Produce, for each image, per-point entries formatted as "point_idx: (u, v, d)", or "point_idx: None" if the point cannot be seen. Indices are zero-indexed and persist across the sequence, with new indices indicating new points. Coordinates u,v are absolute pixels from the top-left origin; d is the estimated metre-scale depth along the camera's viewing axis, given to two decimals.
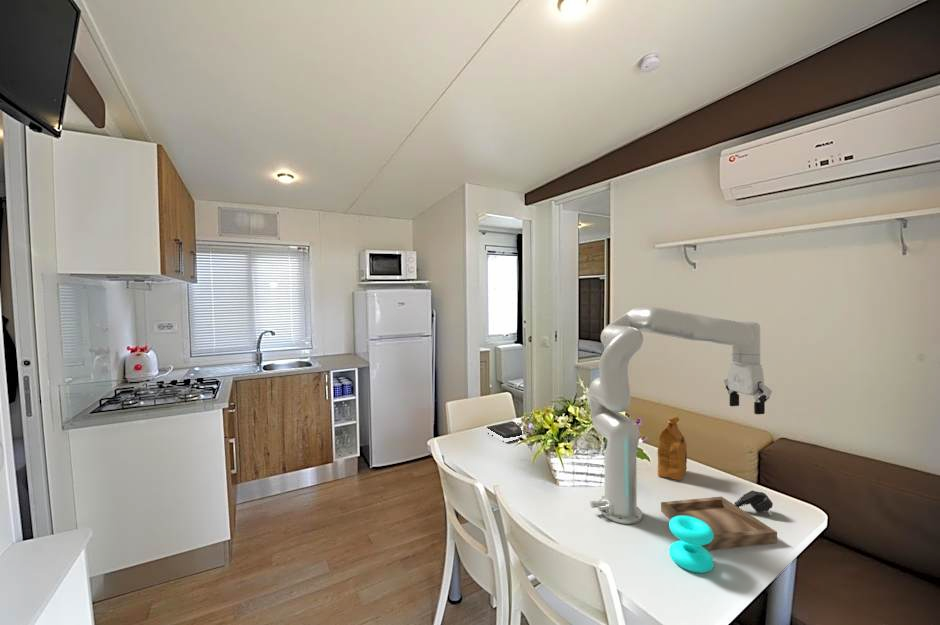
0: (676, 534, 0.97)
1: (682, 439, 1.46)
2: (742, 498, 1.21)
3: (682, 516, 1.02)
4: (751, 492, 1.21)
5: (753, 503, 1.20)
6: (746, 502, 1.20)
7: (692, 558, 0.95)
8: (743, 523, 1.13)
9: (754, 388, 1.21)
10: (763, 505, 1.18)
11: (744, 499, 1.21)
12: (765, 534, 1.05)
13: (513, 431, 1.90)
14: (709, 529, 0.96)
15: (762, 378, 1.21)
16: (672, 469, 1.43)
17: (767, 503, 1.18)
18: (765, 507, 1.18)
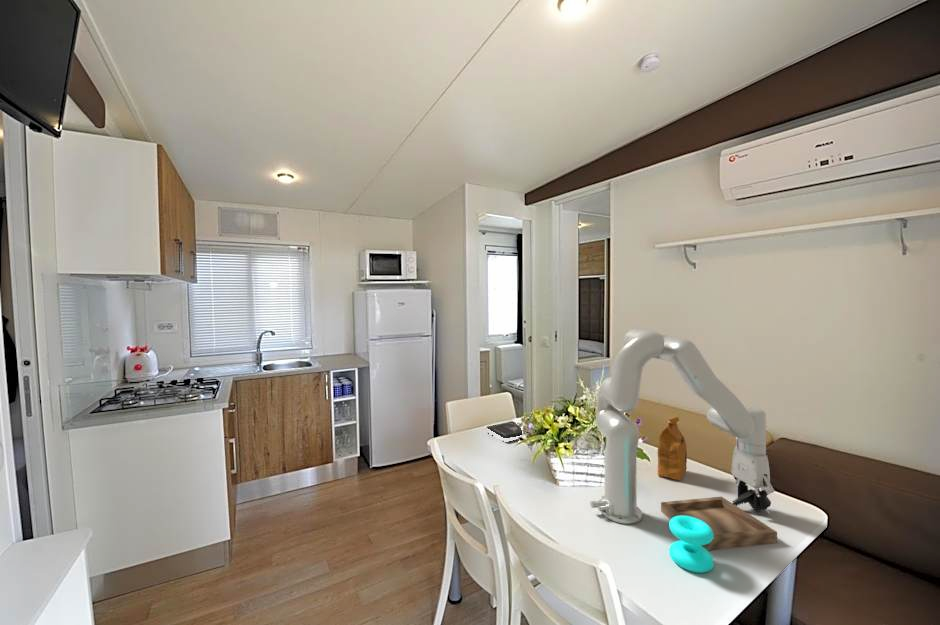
0: (676, 534, 0.97)
1: (682, 439, 1.46)
2: (740, 497, 1.22)
3: (682, 516, 1.02)
4: (749, 491, 1.22)
5: (751, 502, 1.20)
6: (744, 501, 1.21)
7: (692, 558, 0.95)
8: (743, 523, 1.13)
9: (759, 481, 1.15)
10: None
11: (742, 498, 1.21)
12: (765, 534, 1.05)
13: (513, 431, 1.90)
14: (709, 529, 0.96)
15: (768, 470, 1.16)
16: (672, 469, 1.43)
17: (765, 501, 1.18)
18: None
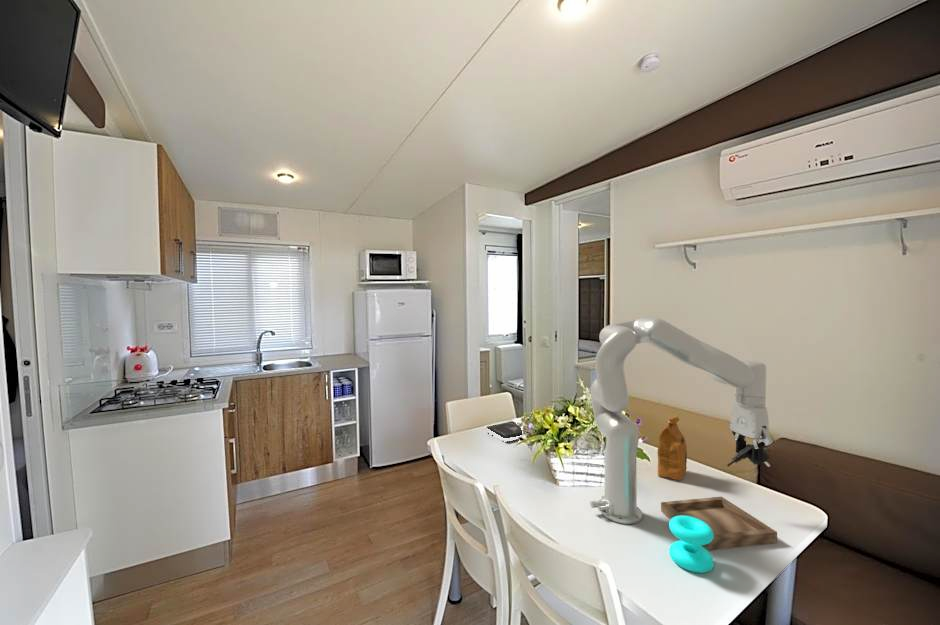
0: (676, 534, 0.97)
1: (682, 439, 1.46)
2: (739, 453, 1.22)
3: (682, 516, 1.02)
4: (747, 446, 1.21)
5: (750, 456, 1.20)
6: (743, 456, 1.20)
7: (692, 558, 0.95)
8: (743, 523, 1.13)
9: (758, 433, 1.15)
10: None
11: (741, 454, 1.21)
12: (765, 534, 1.05)
13: (513, 431, 1.90)
14: (709, 529, 0.96)
15: (767, 422, 1.15)
16: (672, 469, 1.43)
17: (763, 454, 1.18)
18: None
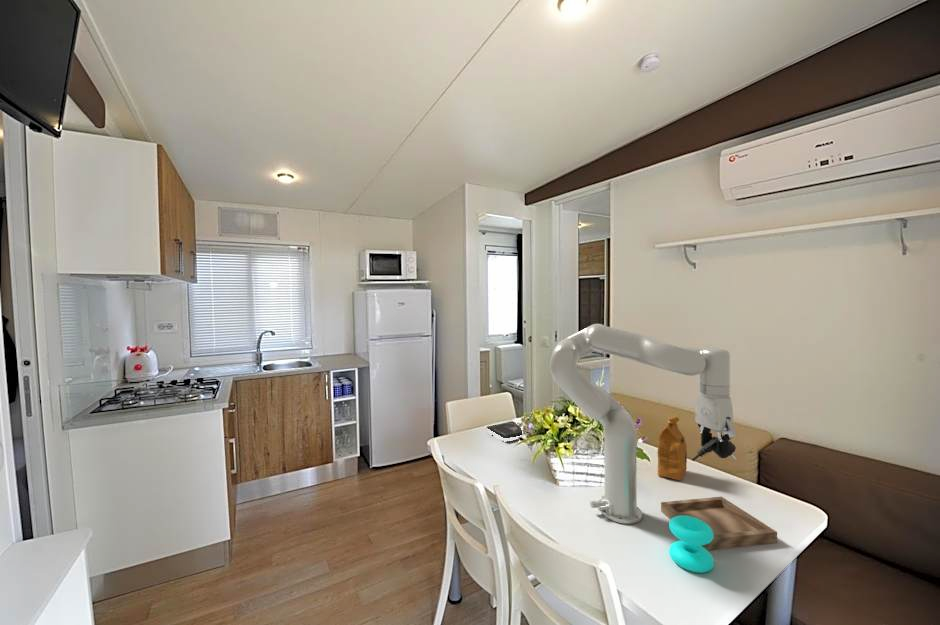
0: (676, 534, 0.97)
1: (682, 439, 1.46)
2: (704, 446, 1.14)
3: (682, 516, 1.02)
4: (713, 438, 1.14)
5: (715, 450, 1.13)
6: (708, 450, 1.13)
7: (692, 558, 0.95)
8: (743, 523, 1.13)
9: (721, 424, 1.08)
10: None
11: (706, 447, 1.14)
12: (765, 534, 1.05)
13: (513, 431, 1.90)
14: (709, 529, 0.96)
15: (731, 413, 1.08)
16: (672, 469, 1.43)
17: (729, 447, 1.11)
18: None
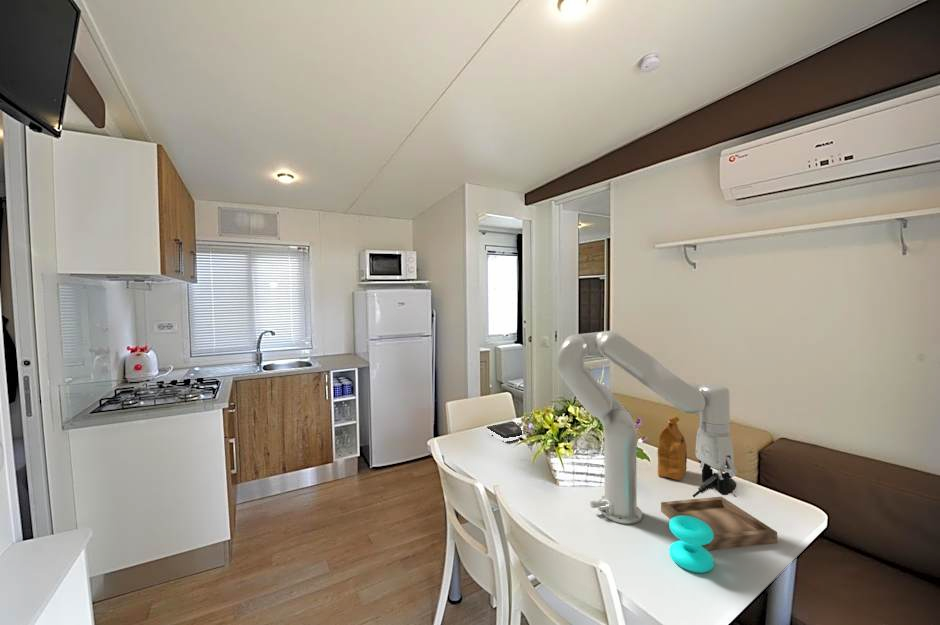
0: (676, 534, 0.97)
1: (682, 439, 1.46)
2: (705, 483, 1.15)
3: (682, 516, 1.02)
4: (713, 475, 1.14)
5: (716, 486, 1.13)
6: (709, 486, 1.13)
7: (692, 558, 0.95)
8: (743, 523, 1.13)
9: (722, 463, 1.08)
10: None
11: (707, 484, 1.14)
12: (765, 534, 1.05)
13: (513, 431, 1.90)
14: (709, 529, 0.96)
15: (731, 451, 1.08)
16: (672, 469, 1.43)
17: (729, 484, 1.11)
18: None
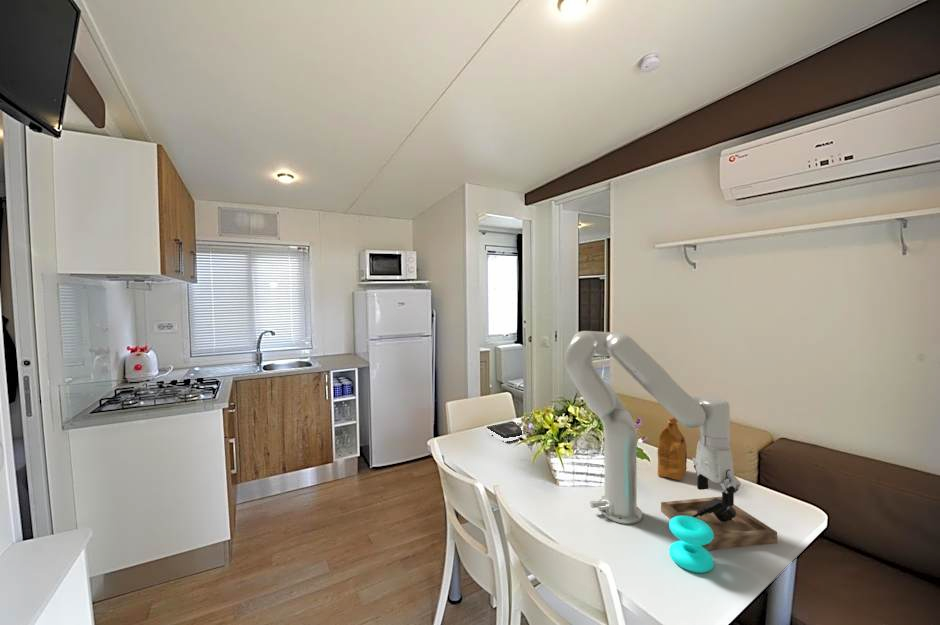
0: (676, 534, 0.97)
1: (682, 439, 1.46)
2: (705, 506, 1.15)
3: (682, 516, 1.02)
4: (714, 500, 1.15)
5: (716, 512, 1.13)
6: (709, 511, 1.14)
7: (692, 558, 0.95)
8: (743, 523, 1.13)
9: (722, 477, 1.08)
10: (726, 514, 1.11)
11: (707, 508, 1.14)
12: (765, 534, 1.05)
13: (513, 431, 1.90)
14: (709, 529, 0.96)
15: (731, 465, 1.09)
16: (672, 469, 1.43)
17: (730, 512, 1.11)
18: (727, 516, 1.11)
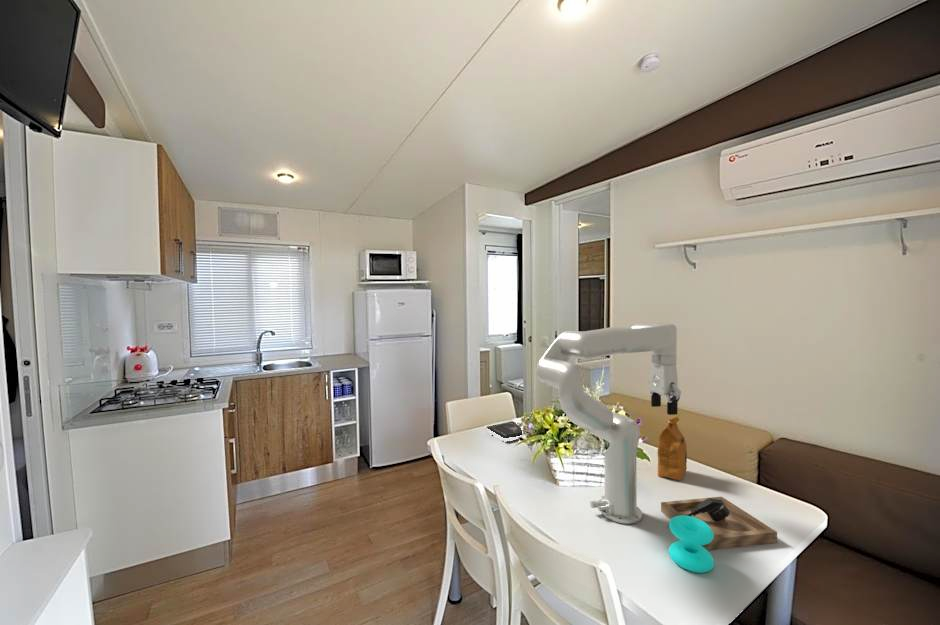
0: (676, 534, 0.97)
1: (682, 439, 1.46)
2: (698, 506, 1.15)
3: (682, 516, 1.02)
4: (708, 500, 1.15)
5: (709, 511, 1.13)
6: (702, 510, 1.14)
7: (692, 558, 0.95)
8: (743, 523, 1.13)
9: (666, 389, 1.23)
10: (719, 513, 1.12)
11: (700, 507, 1.14)
12: (765, 534, 1.05)
13: (512, 431, 1.90)
14: (709, 529, 0.96)
15: (675, 379, 1.23)
16: (672, 469, 1.43)
17: (723, 511, 1.12)
18: (721, 516, 1.11)
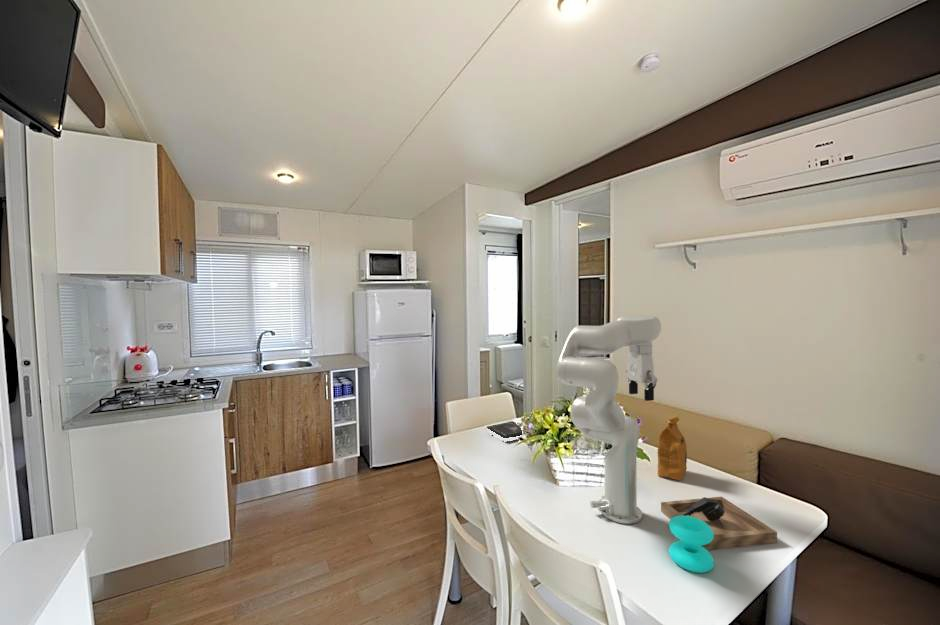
0: (676, 534, 0.97)
1: (682, 439, 1.46)
2: (693, 505, 1.15)
3: (682, 516, 1.02)
4: (703, 499, 1.15)
5: (704, 511, 1.14)
6: (697, 510, 1.14)
7: (692, 558, 0.95)
8: (743, 523, 1.13)
9: (644, 376, 1.31)
10: (714, 513, 1.12)
11: (695, 507, 1.15)
12: (765, 534, 1.05)
13: (512, 431, 1.90)
14: (709, 529, 0.96)
15: (652, 367, 1.32)
16: (672, 469, 1.43)
17: (718, 510, 1.12)
18: (716, 515, 1.12)
